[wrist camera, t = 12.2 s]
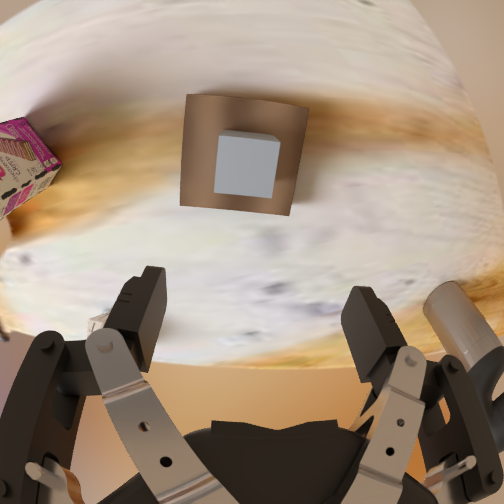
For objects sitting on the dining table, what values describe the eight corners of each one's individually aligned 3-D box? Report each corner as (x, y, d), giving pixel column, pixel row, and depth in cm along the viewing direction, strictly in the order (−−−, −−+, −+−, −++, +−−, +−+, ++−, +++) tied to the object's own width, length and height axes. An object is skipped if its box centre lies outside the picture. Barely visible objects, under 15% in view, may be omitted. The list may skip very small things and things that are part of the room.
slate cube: (273, 135, 25) (280, 142, 21) (266, 182, 28) (271, 198, 24) (223, 129, 25) (219, 135, 21) (218, 177, 27) (213, 192, 23)
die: (140, 308, 42) (93, 322, 33) (150, 355, 42) (107, 376, 34) (113, 305, 46) (70, 317, 37) (122, 348, 46) (83, 364, 37)
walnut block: (300, 106, 27) (309, 108, 24) (284, 202, 34) (289, 216, 30) (193, 94, 26) (186, 94, 23) (186, 193, 32) (179, 205, 29)
